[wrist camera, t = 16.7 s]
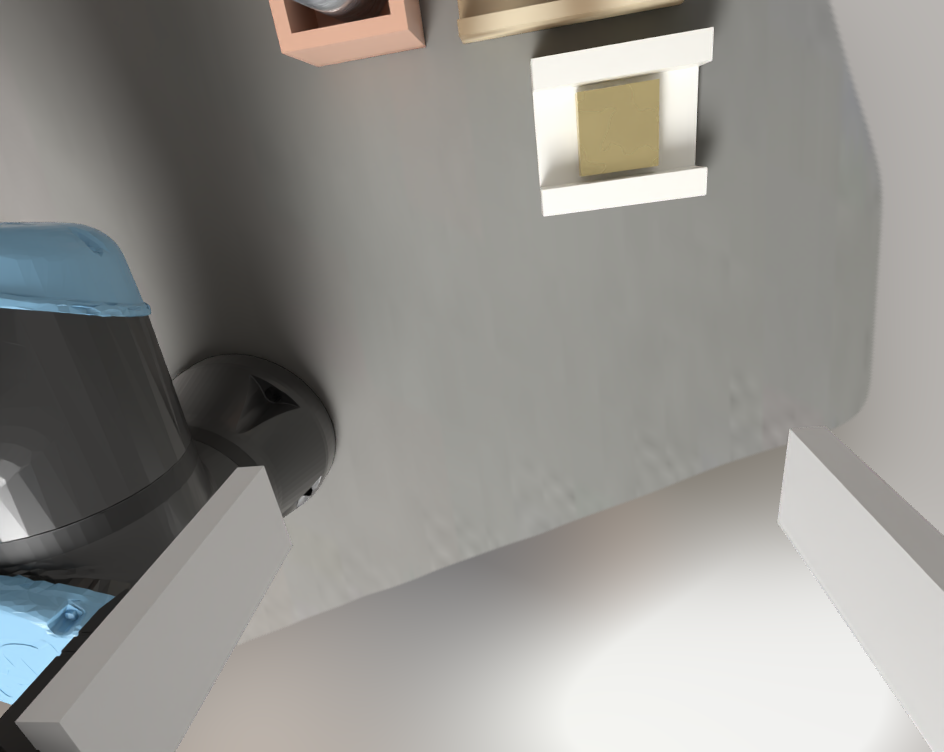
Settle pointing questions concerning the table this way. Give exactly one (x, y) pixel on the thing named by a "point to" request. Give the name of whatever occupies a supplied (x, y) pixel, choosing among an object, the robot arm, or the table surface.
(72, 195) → the table surface
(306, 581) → the table surface
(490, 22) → the trough
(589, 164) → the tan flat square block
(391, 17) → the square hollow tube
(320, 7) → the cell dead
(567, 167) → the cradle
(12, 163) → the table surface
